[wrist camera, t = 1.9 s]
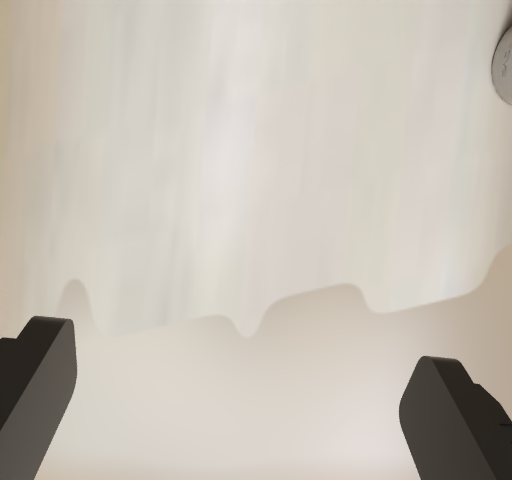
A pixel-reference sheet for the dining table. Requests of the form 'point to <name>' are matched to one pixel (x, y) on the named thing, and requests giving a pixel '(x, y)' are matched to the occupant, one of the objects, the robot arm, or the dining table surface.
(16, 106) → the dining table surface
